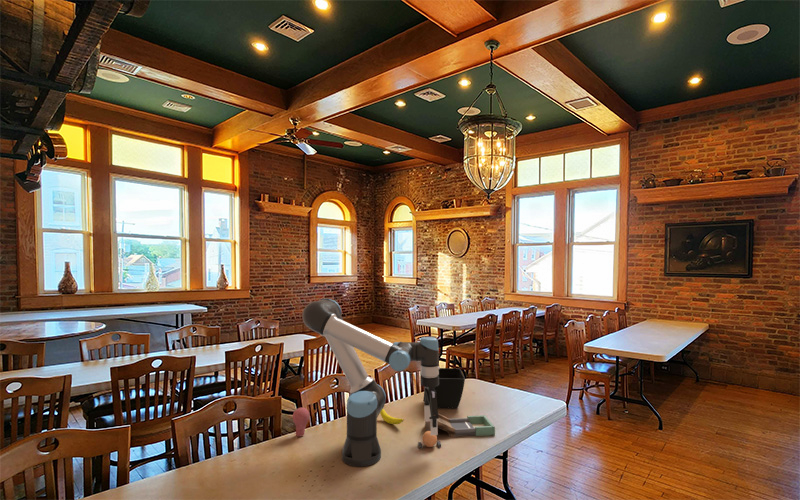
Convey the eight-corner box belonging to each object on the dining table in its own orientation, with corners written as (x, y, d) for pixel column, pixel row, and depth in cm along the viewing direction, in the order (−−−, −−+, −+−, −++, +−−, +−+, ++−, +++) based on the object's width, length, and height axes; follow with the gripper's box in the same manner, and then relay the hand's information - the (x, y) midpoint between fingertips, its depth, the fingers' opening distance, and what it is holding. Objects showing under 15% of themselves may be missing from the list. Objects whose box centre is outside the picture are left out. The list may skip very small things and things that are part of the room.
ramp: (429, 437, 167) (429, 418, 168) (424, 425, 179) (424, 408, 179) (456, 436, 169) (456, 417, 169) (450, 424, 181) (450, 407, 181)
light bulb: (312, 435, 168) (312, 407, 169) (298, 441, 163) (298, 412, 163) (303, 431, 173) (303, 403, 174) (289, 436, 168) (289, 408, 168)
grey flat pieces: (419, 448, 157) (419, 445, 157) (418, 445, 160) (418, 442, 160) (441, 447, 158) (441, 444, 158) (439, 444, 161) (439, 441, 161)
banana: (401, 431, 173) (401, 417, 173) (376, 418, 188) (376, 405, 188) (406, 429, 175) (406, 415, 175) (381, 416, 190) (381, 403, 190)
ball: (423, 450, 156) (423, 434, 156) (421, 443, 162) (421, 428, 162) (438, 449, 156) (438, 434, 157) (435, 442, 162) (435, 428, 163)
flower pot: (465, 411, 197) (465, 378, 198) (428, 411, 197) (428, 377, 198) (460, 398, 216) (460, 368, 217) (426, 398, 216) (426, 367, 217)
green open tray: (475, 435, 169) (475, 427, 169) (467, 423, 182) (467, 416, 182) (494, 435, 170) (494, 426, 170) (485, 422, 183) (485, 415, 183)
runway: (454, 436, 168) (454, 429, 169) (448, 424, 180) (448, 418, 180) (476, 435, 170) (476, 428, 170) (468, 424, 182) (468, 417, 182)
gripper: (445, 384, 148) (446, 440, 147) (432, 367, 173) (433, 415, 172) (426, 385, 147) (427, 441, 147) (416, 368, 172) (417, 416, 171)
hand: (430, 427), depth 159 cm, fingers open, 13 cm apart
